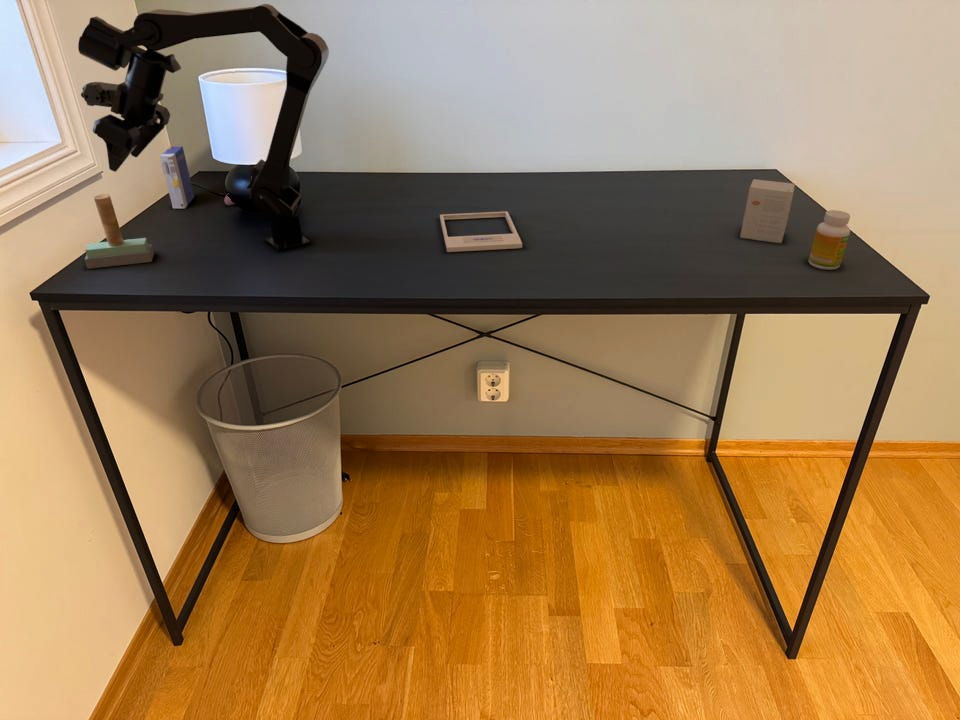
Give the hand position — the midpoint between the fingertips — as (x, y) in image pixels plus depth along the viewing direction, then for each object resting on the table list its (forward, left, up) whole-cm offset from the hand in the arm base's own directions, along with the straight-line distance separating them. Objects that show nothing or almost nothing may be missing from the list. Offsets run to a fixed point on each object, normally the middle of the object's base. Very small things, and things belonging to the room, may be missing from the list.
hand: (123, 163), depth 127 cm
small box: (-72, -100, -16) cm, 124 cm away
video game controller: (+13, -26, -16) cm, 33 cm away
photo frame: (-36, -56, -16) cm, 68 cm away
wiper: (-6, +6, -16) cm, 18 cm away
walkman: (+20, -14, -16) cm, 29 cm away
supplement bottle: (-87, -97, -16) cm, 131 cm away
